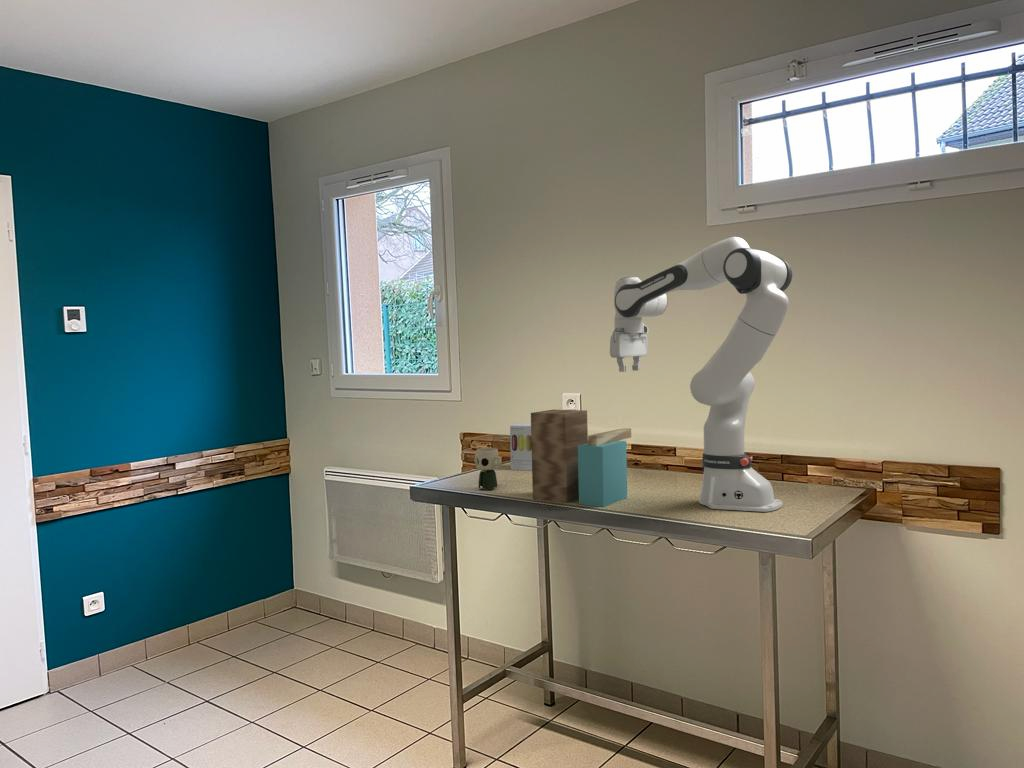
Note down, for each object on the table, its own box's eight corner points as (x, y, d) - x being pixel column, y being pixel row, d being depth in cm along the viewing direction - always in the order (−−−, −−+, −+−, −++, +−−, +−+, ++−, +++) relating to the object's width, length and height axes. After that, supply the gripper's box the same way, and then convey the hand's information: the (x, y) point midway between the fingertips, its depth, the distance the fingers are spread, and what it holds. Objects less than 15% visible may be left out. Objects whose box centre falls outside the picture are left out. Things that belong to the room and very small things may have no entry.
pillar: (588, 495, 237) (587, 410, 236) (567, 502, 226) (565, 414, 225) (555, 491, 244) (553, 409, 243) (532, 499, 233) (530, 412, 232)
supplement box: (509, 470, 289) (508, 425, 288) (515, 466, 298) (514, 422, 297) (535, 470, 287) (534, 425, 286) (539, 466, 296) (538, 422, 295)
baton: (631, 437, 240) (631, 428, 239) (596, 445, 222) (596, 436, 221) (623, 437, 241) (623, 428, 241) (588, 445, 223) (587, 435, 223)
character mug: (468, 489, 253) (467, 449, 252) (483, 485, 258) (482, 447, 257) (492, 492, 245) (491, 451, 245) (507, 489, 251) (506, 449, 250)
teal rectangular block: (627, 497, 232) (626, 440, 231) (603, 506, 220) (602, 447, 219) (603, 495, 236) (602, 439, 236) (579, 504, 224) (577, 445, 223)
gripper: (622, 327, 239) (623, 372, 240) (650, 328, 256) (651, 369, 257) (604, 328, 243) (605, 372, 244) (633, 328, 260) (634, 370, 260)
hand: (629, 371), depth 250 cm, fingers open, 8 cm apart
